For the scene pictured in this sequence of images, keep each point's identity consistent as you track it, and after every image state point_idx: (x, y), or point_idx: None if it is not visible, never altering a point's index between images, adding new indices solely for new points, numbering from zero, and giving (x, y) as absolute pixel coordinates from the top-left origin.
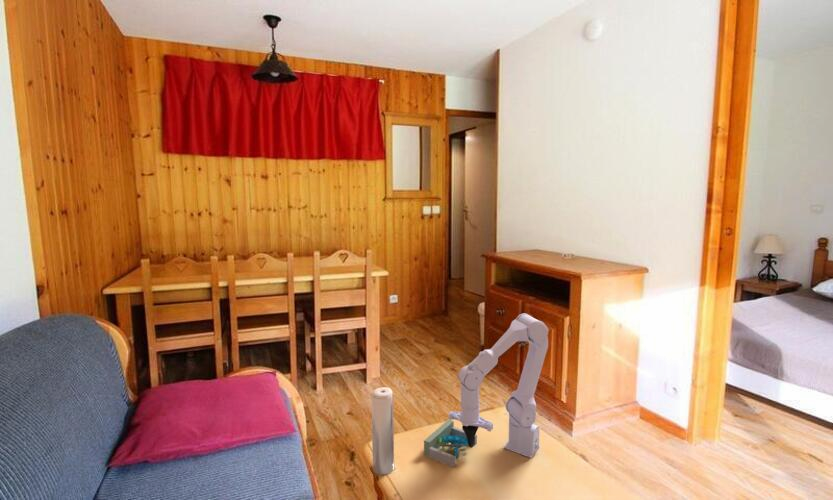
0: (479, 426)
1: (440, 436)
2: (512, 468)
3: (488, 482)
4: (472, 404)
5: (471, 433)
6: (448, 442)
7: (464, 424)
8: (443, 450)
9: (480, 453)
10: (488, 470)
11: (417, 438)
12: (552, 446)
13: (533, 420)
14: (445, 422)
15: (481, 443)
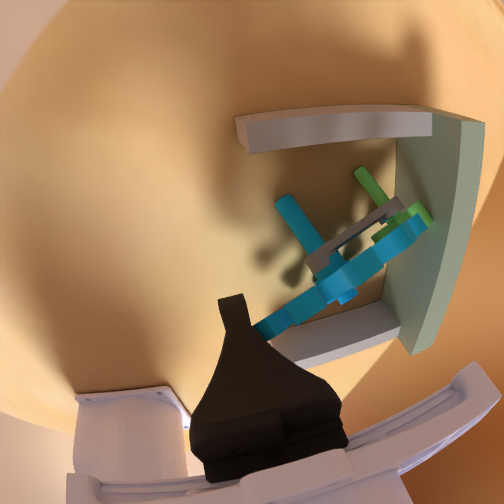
0: (181, 482)
1: (428, 240)
2: (51, 327)
3: (20, 181)
4: None
5: (210, 397)
6: (374, 242)
7: (296, 482)
8: (367, 184)
9: (208, 312)
10: (84, 249)
11: None
12: None
13: None
14: (439, 324)
15: None
